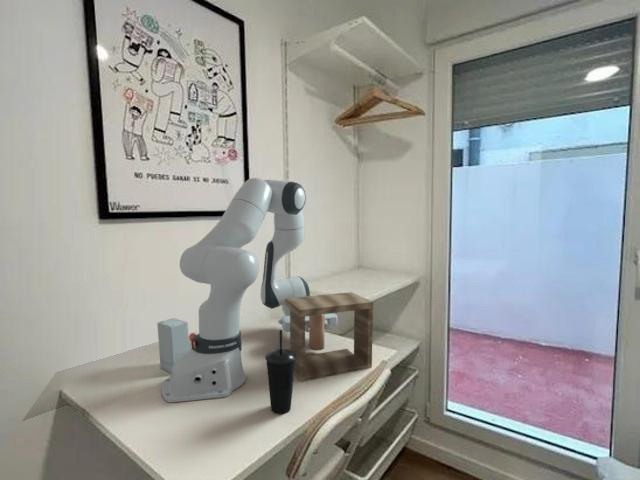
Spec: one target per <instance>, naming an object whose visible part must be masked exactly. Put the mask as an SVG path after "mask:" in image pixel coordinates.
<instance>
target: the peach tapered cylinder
mask: <svg viewBox="0 0 640 480" xmlns="http://www.w3.org/2000/svg"><path fill="white" fill-rule="evenodd" d="M309 326H310V327H311V329H310V330H311V331H310V332H308V346H309V347H308V348H309V350H312V351H322V350H324V349H325V330H324V314H322V315H313V316H309Z"/></svg>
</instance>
